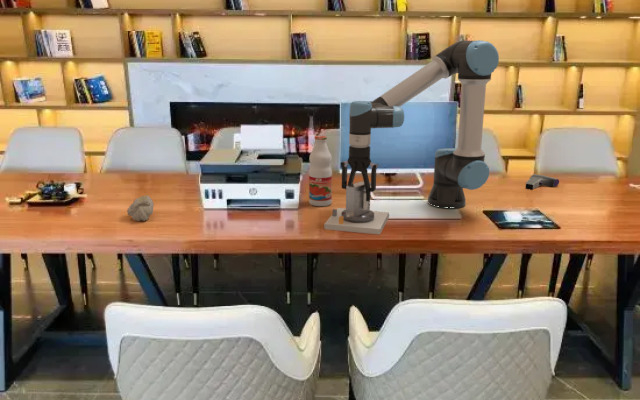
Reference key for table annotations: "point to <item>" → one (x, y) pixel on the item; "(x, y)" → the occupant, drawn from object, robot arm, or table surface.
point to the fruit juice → (320, 173)
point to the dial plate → (356, 223)
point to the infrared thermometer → (541, 181)
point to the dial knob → (357, 204)
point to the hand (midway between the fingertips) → (358, 208)
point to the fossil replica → (141, 208)
